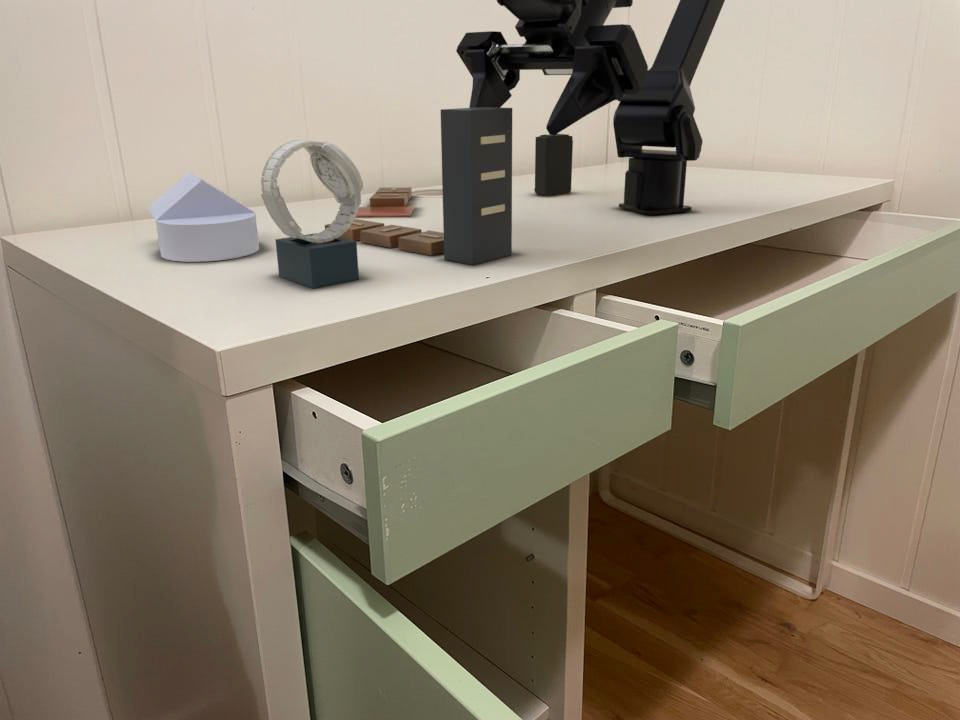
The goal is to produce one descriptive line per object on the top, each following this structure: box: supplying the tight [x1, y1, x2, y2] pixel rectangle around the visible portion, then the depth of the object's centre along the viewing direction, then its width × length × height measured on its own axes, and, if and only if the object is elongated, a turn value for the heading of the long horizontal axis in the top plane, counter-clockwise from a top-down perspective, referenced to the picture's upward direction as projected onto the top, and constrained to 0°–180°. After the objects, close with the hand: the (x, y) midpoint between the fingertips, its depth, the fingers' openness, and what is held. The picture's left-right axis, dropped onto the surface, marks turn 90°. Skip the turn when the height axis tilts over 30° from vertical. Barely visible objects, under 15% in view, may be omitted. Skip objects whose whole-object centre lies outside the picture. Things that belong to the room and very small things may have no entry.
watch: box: [260, 139, 364, 289], centre depth 63 cm, size 6×8×11 cm
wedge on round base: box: [147, 171, 260, 263], centre depth 76 cm, size 9×7×13 cm
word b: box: [355, 186, 415, 218], centre depth 100 cm, size 17×7×1 cm, turn 0°
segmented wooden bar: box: [324, 218, 444, 257], centre depth 78 cm, size 15×4×1 cm, turn 50°
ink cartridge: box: [533, 133, 574, 197], centre depth 108 cm, size 5×2×8 cm, turn 127°
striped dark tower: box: [440, 107, 513, 266], centre depth 69 cm, size 4×6×13 cm, turn 140°
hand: (508, 130), depth 71 cm, fingers open, 9 cm apart
